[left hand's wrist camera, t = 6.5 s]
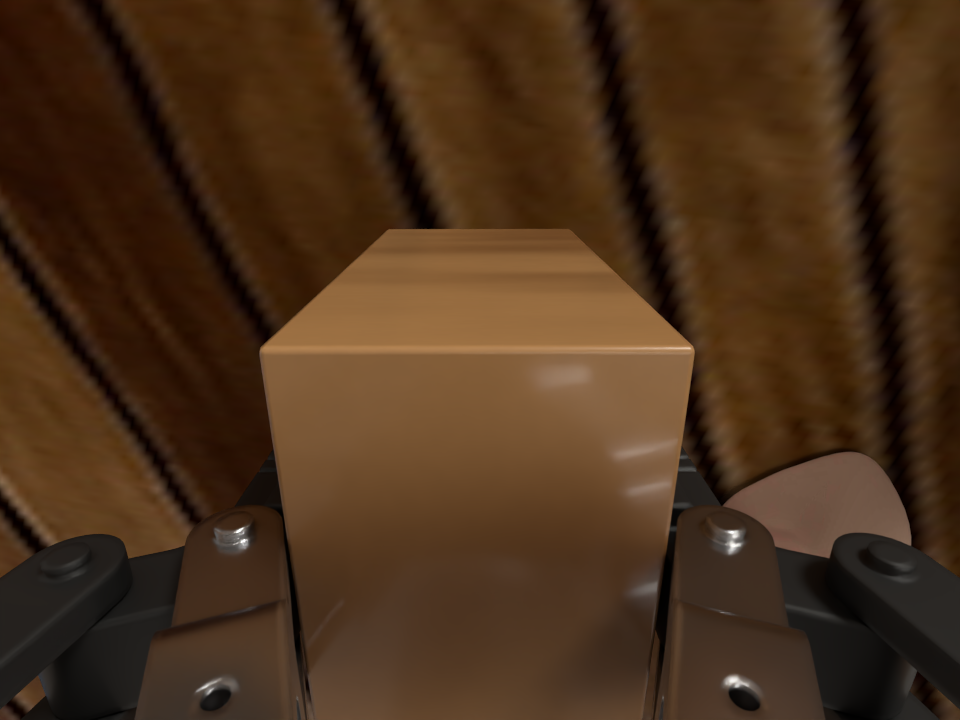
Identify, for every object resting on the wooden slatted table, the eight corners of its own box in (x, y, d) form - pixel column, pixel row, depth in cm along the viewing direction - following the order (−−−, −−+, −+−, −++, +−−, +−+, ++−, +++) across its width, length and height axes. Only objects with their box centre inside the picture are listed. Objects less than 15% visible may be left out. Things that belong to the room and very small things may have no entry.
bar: (386, 228, 15) (254, 347, 6) (570, 228, 15) (699, 346, 6) (420, 808, 24) (385, 1206, 15) (539, 808, 24) (574, 1205, 15)
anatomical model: (882, 459, 22) (1037, 604, 25) (824, 414, 26) (965, 545, 29) (641, 652, 26) (799, 761, 29) (620, 589, 30) (762, 690, 32)
